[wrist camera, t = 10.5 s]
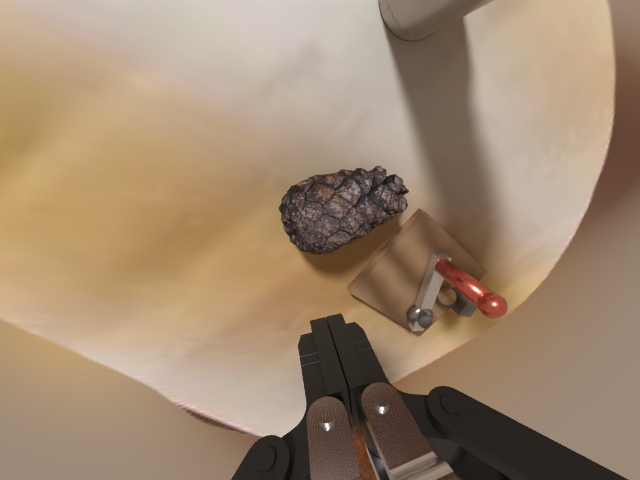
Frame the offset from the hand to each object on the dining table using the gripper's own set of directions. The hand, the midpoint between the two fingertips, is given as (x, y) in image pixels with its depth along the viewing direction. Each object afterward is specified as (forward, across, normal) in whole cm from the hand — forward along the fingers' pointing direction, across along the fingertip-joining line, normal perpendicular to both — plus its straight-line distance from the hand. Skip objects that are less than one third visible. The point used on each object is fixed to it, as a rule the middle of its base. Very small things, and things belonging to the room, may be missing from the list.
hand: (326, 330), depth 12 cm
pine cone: (+27, -8, +2) cm, 28 cm away
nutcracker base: (+27, -21, +20) cm, 40 cm away
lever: (+25, -22, +22) cm, 39 cm away
